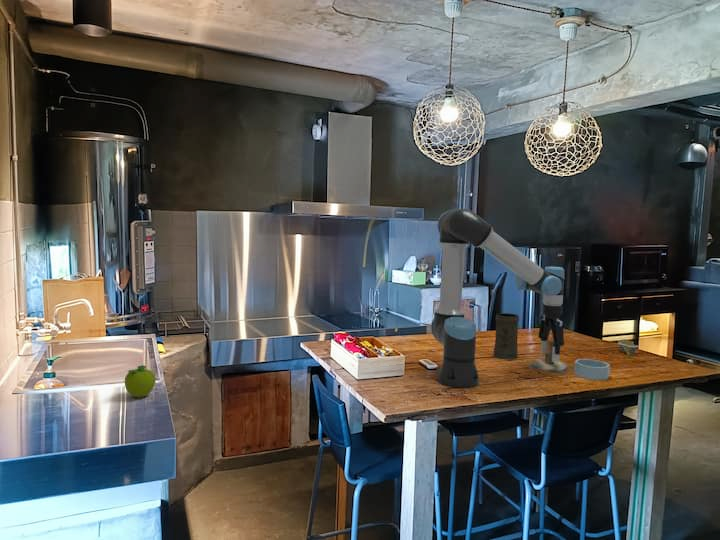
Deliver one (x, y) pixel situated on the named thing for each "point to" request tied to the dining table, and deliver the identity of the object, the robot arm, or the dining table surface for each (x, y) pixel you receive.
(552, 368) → the lid
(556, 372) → the mat
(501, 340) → the beer stein
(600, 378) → the bowl
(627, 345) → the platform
